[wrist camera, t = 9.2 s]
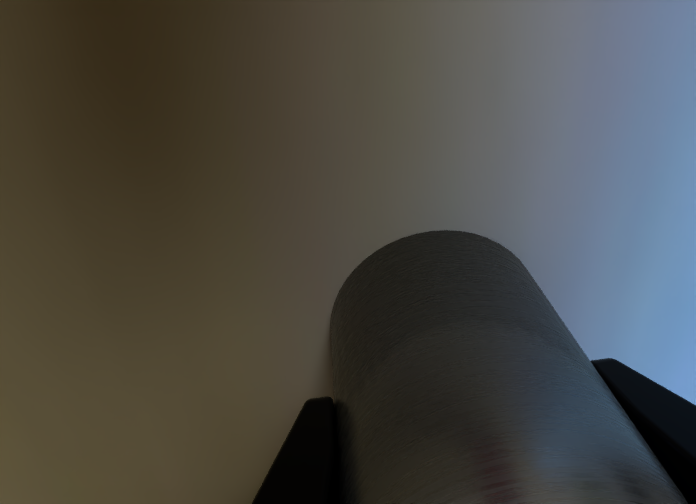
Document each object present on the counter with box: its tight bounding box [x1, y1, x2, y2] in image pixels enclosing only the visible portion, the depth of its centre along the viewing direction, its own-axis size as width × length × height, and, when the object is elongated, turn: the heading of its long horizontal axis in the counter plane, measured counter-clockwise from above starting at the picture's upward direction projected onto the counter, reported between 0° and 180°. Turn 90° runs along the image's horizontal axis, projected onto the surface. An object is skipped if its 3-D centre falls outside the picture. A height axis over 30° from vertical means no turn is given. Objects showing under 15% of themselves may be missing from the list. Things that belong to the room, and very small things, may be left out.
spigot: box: [331, 230, 688, 504], centre depth 7 cm, size 4×4×8 cm
